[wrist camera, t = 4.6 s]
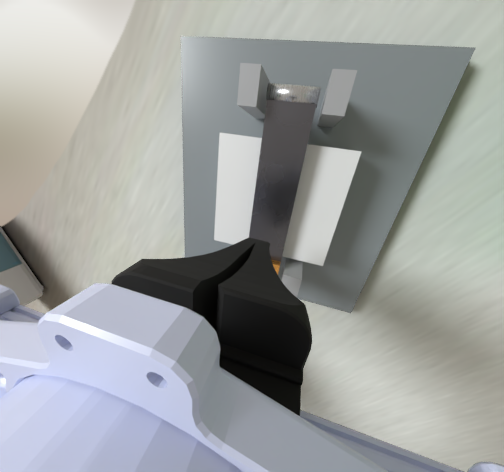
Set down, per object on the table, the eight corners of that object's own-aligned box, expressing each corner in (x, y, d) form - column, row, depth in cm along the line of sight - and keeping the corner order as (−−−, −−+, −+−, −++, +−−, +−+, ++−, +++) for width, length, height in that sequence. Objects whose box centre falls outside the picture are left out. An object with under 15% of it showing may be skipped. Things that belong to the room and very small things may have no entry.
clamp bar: (277, 280, 18) (275, 289, 17) (245, 271, 18) (241, 280, 17) (320, 89, 12) (322, 82, 10) (270, 85, 12) (266, 78, 11)
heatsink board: (348, 305, 22) (363, 356, 16) (190, 262, 25) (158, 292, 20) (461, 56, 13) (580, -19, 7) (188, 43, 16) (128, -14, 11)
